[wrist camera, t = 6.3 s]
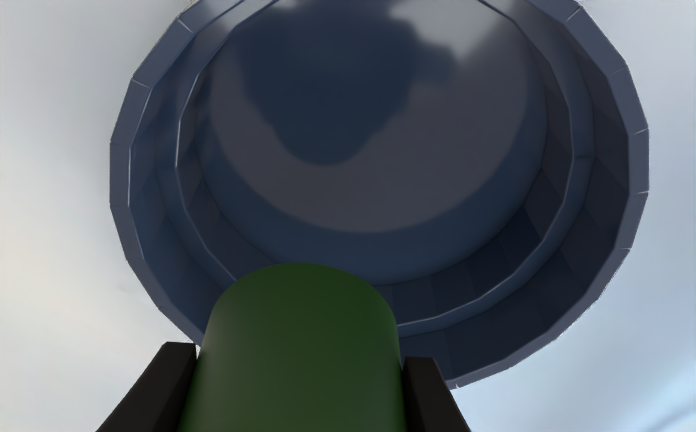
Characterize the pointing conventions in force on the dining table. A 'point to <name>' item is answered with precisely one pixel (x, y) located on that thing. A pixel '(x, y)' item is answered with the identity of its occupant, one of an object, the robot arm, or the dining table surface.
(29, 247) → the dining table surface
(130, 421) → the robot arm
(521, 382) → the dining table surface
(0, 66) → the dining table surface
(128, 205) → the shallow round dish
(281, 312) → the green pepper
